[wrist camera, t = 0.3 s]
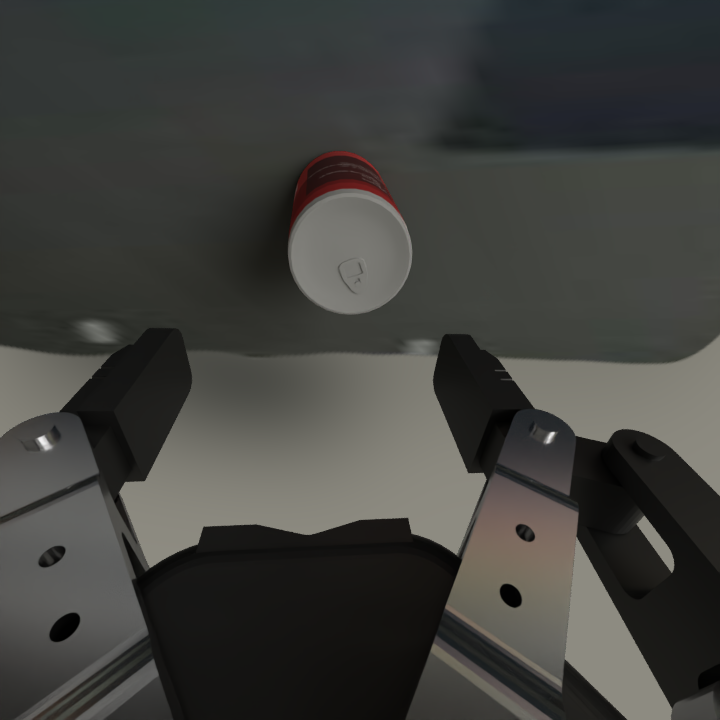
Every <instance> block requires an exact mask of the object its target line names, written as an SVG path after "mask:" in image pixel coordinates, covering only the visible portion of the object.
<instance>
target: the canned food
mask: <svg viewBox="0 0 720 720" xmlns="http://www.w3.org/2000/svg"><path fill="white" fill-rule="evenodd" d="M288 259H289V265H290V270H291V273H292V275H293V278H294V280H295V282H296V284H297V285H298V287H299V289H300V290H301V291H302V292H303V293H304V294H305V296H306V297H307V298H308V299H310V300H311V301H312V302H314V303H315V304H316V305H318V306H320V307H322V308H324V309H326V310H328V311H332V312H335V313H340V314H361V313H365V312H369V311H372V310H374V309H377V308H379V307H381V306H382V305H384V304H385V303H387V302H388V301H390V300H391V299H392V298H393V297H394V296H395V295H396V294H397V293H398V291H399V290H400V289H401V288H402V286H403V284H404V283H405V281H406V279H407V277H408V274H409V270H410V267H411V261H412V247H411V240H410V236H409V232H408V229H407V226H406V224H405V222H404V220H403V218H402V216H401V214H400V212H399V210H398V208H397V206H396V205H395V203H394V201H393V199H392V197H391V195H390V193H389V192H388V190H387V188H386V186H385V184H384V182H383V180H382V179H381V177H380V175H379V173H378V172H377V170H376V169H375V168H374V167H373V166H372V164H370V163H369V162H368V161H367V160H365V159H364V158H362V157H360V156H358V155H356V154H354V153H350V152H346V151H333V152H329V153H325V154H323V155H321V156H319V157H317V158H315V159H314V160H313V161H312V162H311V163H309V164H308V165H307V167H306V168H305V169H304V171H303V172H302V174H301V176H300V178H299V180H298V183H297V187H296V191H295V196H294V203H293V210H292V216H291V223H290V229H289V239H288Z"/></svg>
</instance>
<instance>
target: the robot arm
mask: <svg viewBox="0 0 720 720" xmlns="http://www.w3.org/2000/svg"><path fill="white" fill-rule="evenodd" d="M433 377H434V378H433V385H434V391H435V394H436V396H437V399H438V401H439V403H440V406H441V408H442V411H443V413H444V415H445V418H446V420H447V423H448V425H449V428H450V430H451V432H452V435H453V437H454V440H455V442H456V444H457V447H458V449H459V452H460V454H461V456H462V459H463V461H464V464H465V466H466V468H467V471H468V473H484V474H485V476H486V479H487V480H486V482H485V484H484V487H483V490H482V492H481V495H480V497H479V500H478V502H477V505H476V508H475V510H474V513H473V515H472V518H471V521H470V523H469V526H468V528H467V531H466V534H465V537H464V539H463V541H462V544H461V547H460V548H459V551H458V553H457V555H455V554H454V553H453V552H451V551H450V550H448V549H447V548H445V547H443V546H442V545H440V544H438V543H436V542H434V541H432V540H430V539H427V538H424V537H421V536H418V535H414V534H411V529H410V525H409V521H408V518H398V519H397V518H396V519H374V520H359V521H356V522H352V523H349V524H346V525H342V526H339V527H336V528H333V529H329V530H326V531H323V532H320V533H316V534H312V535H302V534H298V533H293V532H289V531H284V530H279V529H275V528H270V527H265V526H261V525H234V526H212V527H211V526H210V527H203V530H202V533H201V537H200V540H199V543H198V545H195V546H192V547H189V548H187V549H184V550H182V551H179V552H177V553H175V554H173V555H171V556H169V557H168V558H166V559H164V560H162V561H161V562H159V563H158V564H156V565H154V566H153V567H151V568H149V565H148V563H147V561H146V559H145V556H144V554H143V551H142V549H141V546H140V544H139V541H138V538H137V536H136V533H135V531H134V528H133V525H132V523H131V520H130V518H129V515H128V512H127V510H126V507H125V504H124V502H123V499H122V497H121V495H120V493H119V491H120V490H121V488H122V486H123V484H124V483H125V482H134V481H145V480H146V478H147V475H148V474H149V472H150V470H151V468H152V466H153V464H154V462H155V460H156V458H157V456H158V454H159V452H160V450H161V448H162V446H163V444H164V442H165V440H166V438H167V436H168V434H169V432H170V430H171V428H172V426H173V424H174V422H175V420H176V418H177V416H178V414H179V412H180V410H181V408H182V406H183V404H184V402H185V400H186V398H187V396H188V394H189V392H190V389H191V384H192V374H191V369H190V365H189V361H188V357H187V353H186V349H185V345H184V341H183V337H182V334H181V332H180V331H179V330H178V329H171V328H149V329H147V330H146V331H145V332H144V333H143V334H142V336H141V337H140V338H139V339H138V340H137V341H136V343H135V344H134V345H128V346H126V347H124V348H122V349H121V350H119V351H117V352H116V353H114V354H112V355H111V356H110V357H109V358H108V359H107V361H106V362H105V363H104V364H103V365H102V366H101V369H98V370H97V371H96V372H95V374H94V375H93V376H92V379H89V380H88V381H87V382H86V383H85V385H84V386H83V387H82V388H81V389H80V390H79V391H78V392H77V393H76V394H75V395H74V397H72V399H71V400H70V401H69V402H68V403H67V404H66V405H65V406H64V407H63V408H62V410H60V412H57V413H49V414H44V415H41V416H37V417H34V418H32V419H29V420H27V421H24V422H22V423H20V424H18V425H17V426H15V427H13V428H12V429H10V430H9V431H8V432H6V433H5V434H4V435H3V436H2V437H1V438H0V720H627V719H626V718H625V717H624V716H623V715H622V714H621V713H620V712H619V711H618V710H617V709H616V708H614V707H613V705H612V704H611V703H610V702H608V701H607V700H606V699H605V698H604V697H603V696H602V695H601V694H600V693H599V692H598V691H597V690H596V689H595V688H594V687H593V686H592V685H591V684H590V683H589V682H588V681H587V680H586V679H585V678H584V677H583V676H582V675H581V674H580V673H579V672H578V671H577V670H576V669H575V668H573V667H572V666H571V665H570V664H569V663H568V662H567V661H566V660H565V649H566V638H567V628H568V618H569V608H570V607H569V606H570V597H571V586H572V576H573V565H574V556H575V545H576V536H577V538H578V540H579V542H580V543H581V545H582V547H583V549H584V551H585V552H586V554H587V556H588V558H589V560H590V562H591V563H592V565H593V567H594V569H595V570H596V572H597V574H598V576H599V578H600V580H601V581H602V583H603V585H604V587H605V589H606V590H607V592H608V594H609V596H610V597H611V599H612V601H613V603H614V605H615V607H616V608H617V610H618V612H619V614H620V615H621V617H622V619H623V621H624V623H625V624H626V626H627V628H628V630H629V631H630V633H631V635H632V637H633V639H634V640H635V643H636V644H637V646H638V648H639V650H640V651H641V653H642V655H643V657H644V659H645V661H646V662H647V664H648V665H649V668H650V669H651V671H652V673H653V675H654V677H655V678H656V680H657V682H658V684H659V686H660V688H661V689H662V691H663V693H664V695H665V696H666V698H667V700H668V702H669V704H670V706H671V707H672V714H671V720H720V496H719V495H718V494H717V493H716V492H715V491H714V490H713V489H712V488H711V487H710V486H709V485H708V484H707V483H706V482H705V481H704V480H703V479H702V478H701V477H700V476H699V475H698V474H697V473H696V472H695V471H694V470H693V469H692V468H691V467H690V466H689V465H688V464H687V463H686V462H685V461H684V460H683V459H682V458H681V457H680V456H679V455H678V454H677V453H676V452H675V451H674V450H673V449H671V448H670V447H669V446H668V445H666V444H665V443H663V442H662V441H660V440H658V439H656V438H654V437H652V436H650V435H648V434H645V433H643V432H639V431H635V430H629V429H622V430H618V431H616V432H614V434H613V435H612V436H611V438H610V439H609V441H608V442H607V443H604V442H600V441H595V440H590V439H586V438H582V437H578V436H575V434H574V432H573V430H572V429H571V428H570V427H569V426H568V424H566V423H565V422H564V421H563V420H561V419H560V418H558V417H556V416H555V415H553V414H550V413H548V412H545V411H542V410H537V409H535V408H534V407H533V406H532V405H531V403H530V402H529V400H528V399H527V398H526V396H525V395H524V394H523V392H522V391H521V390H520V388H519V387H518V386H517V384H516V383H515V382H514V381H512V378H511V376H510V375H509V374H508V372H506V370H505V368H504V367H503V365H502V364H501V363H500V361H499V360H498V359H497V358H496V357H494V356H493V355H491V354H490V353H488V352H487V351H486V350H480V348H479V347H478V346H477V344H476V343H475V341H474V340H473V338H472V337H471V336H470V335H468V334H445V335H444V336H443V338H442V341H441V345H440V350H439V354H438V358H437V362H436V367H435V371H434V376H433ZM644 515H645V517H646V518H647V519H648V520H649V522H650V523H651V524H652V526H653V527H654V528H655V529H656V531H657V532H658V534H659V535H660V536H661V538H662V539H663V540H664V541H665V543H666V544H667V546H668V547H669V549H670V550H671V552H672V555H673V558H674V570H673V572H672V573H671V571H670V570H669V569H668V567H667V566H666V565H665V563H664V562H663V561H662V559H661V558H660V556H659V555H658V554H657V552H656V551H655V549H654V548H653V547H652V545H651V544H650V542H649V541H648V540H647V538H646V537H645V536H644V534H643V533H642V532H641V530H640V529H639V527H638V526H637V523H638V522H639V521H640V520H641V518H642V517H643V516H644Z"/></svg>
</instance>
